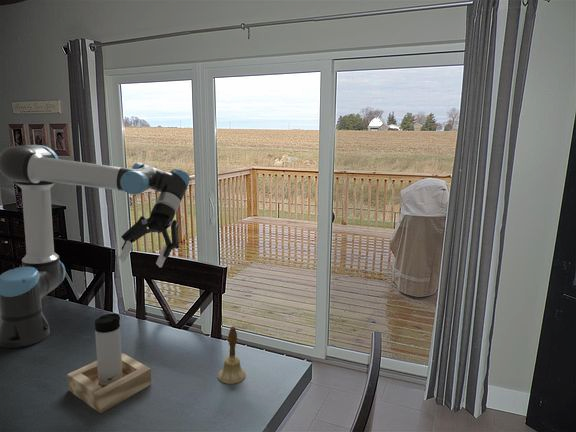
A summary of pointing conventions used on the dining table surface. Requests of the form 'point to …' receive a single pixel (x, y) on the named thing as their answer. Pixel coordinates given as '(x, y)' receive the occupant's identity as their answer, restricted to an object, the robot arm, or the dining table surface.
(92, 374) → the wooden tray
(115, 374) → the travel mug
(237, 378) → the hand bell
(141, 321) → the dining table surface
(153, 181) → the robot arm
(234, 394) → the dining table surface
